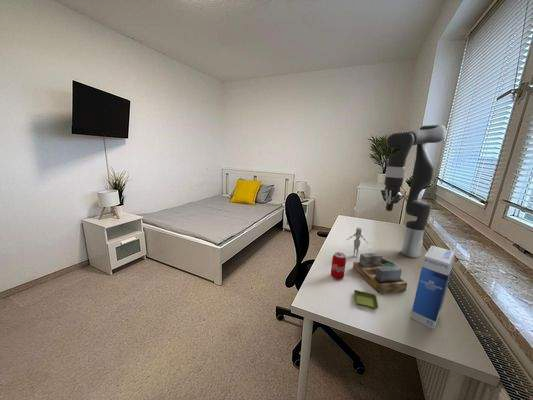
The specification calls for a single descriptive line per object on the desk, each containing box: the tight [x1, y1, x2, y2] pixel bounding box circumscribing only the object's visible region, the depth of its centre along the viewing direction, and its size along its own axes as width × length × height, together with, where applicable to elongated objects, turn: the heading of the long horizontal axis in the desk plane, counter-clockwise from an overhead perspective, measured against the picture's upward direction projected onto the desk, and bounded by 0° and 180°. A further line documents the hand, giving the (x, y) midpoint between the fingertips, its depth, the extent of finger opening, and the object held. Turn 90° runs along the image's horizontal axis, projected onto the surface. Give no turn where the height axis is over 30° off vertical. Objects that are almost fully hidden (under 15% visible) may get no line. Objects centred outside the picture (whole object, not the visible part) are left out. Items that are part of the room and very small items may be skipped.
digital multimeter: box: [381, 257, 396, 266], centre depth 118 cm, size 7×15×3 cm, turn 29°
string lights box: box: [410, 245, 456, 330], centre depth 78 cm, size 13×8×26 cm, turn 133°
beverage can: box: [330, 252, 347, 281], centre depth 103 cm, size 6×6×12 cm
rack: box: [352, 252, 408, 294], centre depth 102 cm, size 14×20×10 cm
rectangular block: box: [375, 265, 403, 284], centre depth 96 cm, size 10×3×8 cm, turn 100°
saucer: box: [353, 289, 379, 310], centre depth 87 cm, size 9×9×2 cm
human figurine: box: [346, 227, 369, 259], centre depth 123 cm, size 12×4×18 cm, turn 66°
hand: (388, 210), depth 106 cm, fingers closed
